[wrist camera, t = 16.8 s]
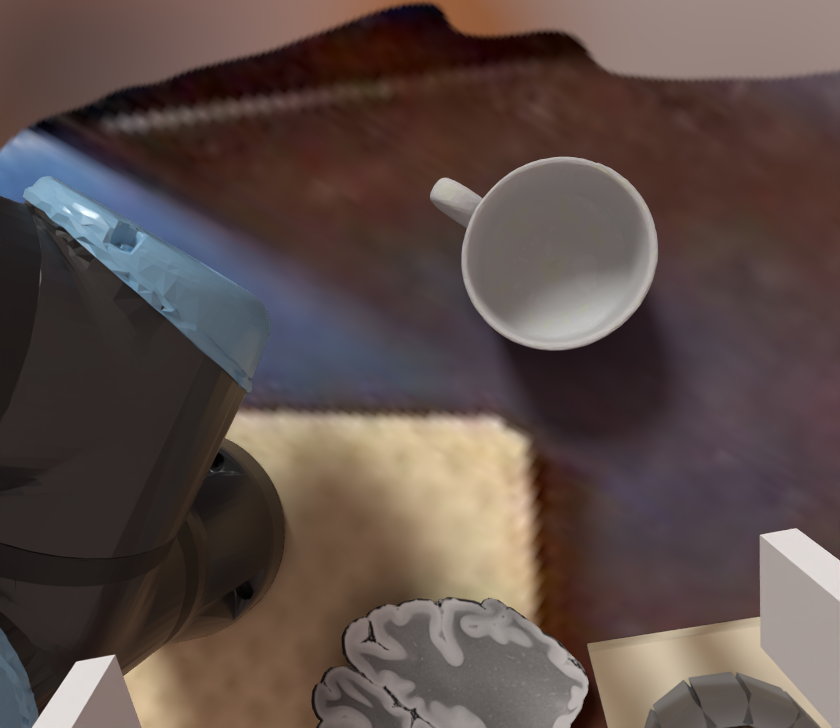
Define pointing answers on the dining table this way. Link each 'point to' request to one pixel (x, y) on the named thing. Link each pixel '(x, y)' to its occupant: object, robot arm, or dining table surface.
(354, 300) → the dining table surface
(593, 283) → the teacup
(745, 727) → the piston
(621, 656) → the ring board
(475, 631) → the brain slice
